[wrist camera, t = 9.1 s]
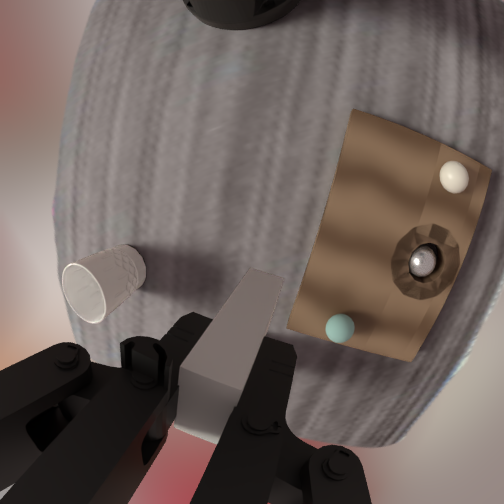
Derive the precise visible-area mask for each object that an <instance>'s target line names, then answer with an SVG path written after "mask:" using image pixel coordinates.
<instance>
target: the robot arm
mask: <svg viewBox="0 0 504 504" xmlns="http://www.w3.org/2000/svg"><path fill="white" fill-rule="evenodd" d="M300 1H301V0H183V2H184V4H185V5H186V7H187V8H188V10H189V11H190V12H191V13H192V14H193V15H194V16H196V17H197V18H198V19H199V20H200V21H202V22H203V23H205V24H207V25H209V26H212V27H215V28H220V29H227V30H242V29H250V28H255V27H259V26H263V25H266V24H268V23H271V22H273V21H275V20H277V19H279V18H281V17H283V16H284V15H286V14H287V13H289V12H290V11H291V10H292V9H294V8H295V7H296V6H297V4H298V3H299V2H300ZM283 281H284V278H282V277H279V276H275V275H272V274H269V273H266V272H263V271H260V270H256V269H253V268H249V270H248V271H247V273H246V274H245V275H244V277H243V278H242V280H241V281H240V282H239V284H238V285H237V287H236V288H235V290H234V291H233V292H232V294H231V295H230V297H229V298H228V299H227V301H226V302H225V304H224V305H223V307H222V308H221V309H220V311H219V312H218V314H217V315H216V316H215V318H214V319H210V318H208V317H205V316H202V315H200V314H197V313H194V312H192V313H189V314H187V315H185V316H182V317H181V318H180V319H179V320H178V321H177V322H176V323H175V324H174V325H173V327H172V328H171V329H170V330H169V331H168V332H167V334H165V335H164V336H163V338H162V339H161V340H160V341H159V340H157V339H154V338H151V337H145V336H136V337H131V338H127V339H126V340H124V341H123V342H121V343H120V352H121V366H122V367H121V368H117V367H110V366H106V365H102V364H99V363H94V362H91V360H90V355H89V353H88V352H87V350H86V349H85V348H83V347H82V346H80V345H78V344H75V343H71V342H63V343H59V344H56V345H53V346H51V347H49V348H47V349H45V350H43V351H41V352H38V353H36V354H34V355H32V356H30V357H28V358H26V359H24V360H22V361H20V362H18V363H15V364H13V365H11V366H9V367H7V368H5V369H3V370H1V371H0V491H2V490H4V489H5V488H7V487H9V486H10V485H12V484H14V483H15V484H14V485H13V486H12V487H11V488H10V490H9V491H8V492H7V493H6V494H5V495H4V496H3V498H2V499H1V500H0V504H128V502H129V501H130V499H131V497H132V496H133V494H134V492H135V491H136V489H137V488H138V486H139V485H140V483H141V481H142V480H143V478H144V476H145V475H146V473H147V472H148V470H149V468H150V467H151V465H152V463H153V462H154V460H155V458H156V457H157V455H158V454H159V452H160V450H161V449H162V447H163V445H164V444H165V442H166V439H167V436H168V429H169V428H170V426H171V424H172V423H173V421H174V420H175V422H174V427H175V428H177V429H179V430H182V431H184V432H186V433H189V434H191V435H194V436H196V437H199V438H201V439H204V440H206V441H209V442H212V443H214V444H217V446H216V448H215V450H214V452H213V455H212V457H211V459H210V461H209V463H208V466H207V468H206V470H205V472H204V474H203V477H202V479H201V481H200V483H199V485H198V487H197V489H196V491H195V493H194V495H193V498H192V500H191V502H190V504H267V503H268V502H269V503H271V504H372V503H371V499H370V495H369V490H368V486H367V482H366V478H365V474H364V470H363V466H362V464H361V462H360V460H359V458H358V457H357V456H356V455H355V454H354V453H353V452H352V451H351V450H349V449H347V448H345V447H343V446H337V445H328V446H323V447H321V448H319V449H317V448H315V447H313V446H311V445H309V444H307V443H305V442H303V441H302V440H300V439H299V438H297V437H296V436H295V435H294V434H293V433H292V432H291V431H290V429H289V427H288V425H287V423H286V419H285V415H286V408H287V404H288V399H289V394H290V390H291V385H292V380H293V379H292V378H293V375H294V370H295V369H294V368H295V364H296V359H297V355H296V352H295V350H294V347H293V345H291V344H287V343H284V342H281V341H278V340H275V339H272V338H268V337H265V336H266V334H267V331H268V328H269V325H270V322H271V319H272V316H273V313H274V310H275V306H276V303H277V300H278V297H279V294H280V291H281V288H282V284H283Z"/></svg>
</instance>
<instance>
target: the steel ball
mask: <svg viewBox="0 0 504 504" xmlns="http://www.w3.org/2000/svg"><path fill="white" fill-rule="evenodd" d="M435 265H436V256H435V253H434V252H433V250H432V249H431V248H430V247H428V246H426V245H419V246H418V247H417V248H416V249H415V250H414V251H413V252H412V254H411V257H410V259H409V262H408V266H409V270H410V272H411V273H412V274H414V275H415V276H418V277H424V276H427V275H429V274H430V273H431V272H432V271H433V270H434V268H435Z"/></svg>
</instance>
